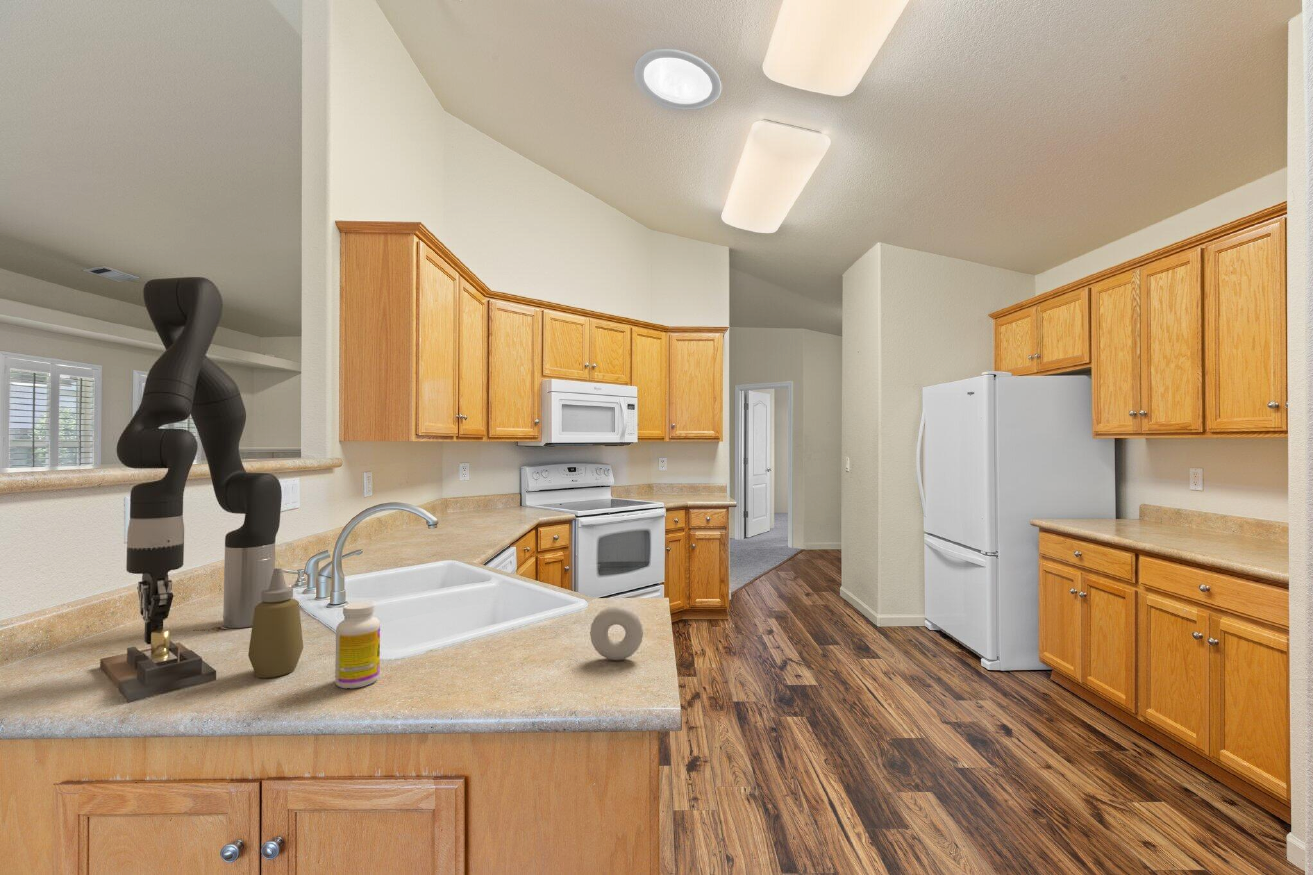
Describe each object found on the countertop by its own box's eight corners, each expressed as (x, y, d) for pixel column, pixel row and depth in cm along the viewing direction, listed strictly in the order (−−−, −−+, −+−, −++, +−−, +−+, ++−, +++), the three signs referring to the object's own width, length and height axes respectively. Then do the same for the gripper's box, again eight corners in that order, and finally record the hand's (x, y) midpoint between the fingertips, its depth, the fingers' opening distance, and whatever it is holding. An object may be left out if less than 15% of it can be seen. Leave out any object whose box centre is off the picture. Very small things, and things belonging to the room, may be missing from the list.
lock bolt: (164, 658, 102) (165, 624, 102) (177, 669, 97) (178, 634, 97) (142, 663, 99) (143, 628, 99) (154, 675, 94) (155, 638, 94)
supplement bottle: (384, 682, 96) (386, 605, 96) (340, 693, 92) (342, 613, 92) (372, 670, 101) (374, 597, 102) (330, 680, 97) (332, 604, 97)
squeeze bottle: (243, 685, 95) (245, 575, 95) (251, 667, 102) (253, 566, 102) (301, 676, 99) (303, 571, 99) (304, 660, 106) (306, 562, 106)
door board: (179, 650, 110) (179, 628, 110) (216, 679, 97) (216, 654, 97) (100, 667, 101) (100, 643, 102) (128, 702, 88) (129, 674, 88)
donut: (643, 656, 110) (643, 604, 110) (642, 663, 106) (643, 609, 106) (590, 655, 110) (591, 603, 110) (588, 662, 106) (589, 608, 106)
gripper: (194, 544, 99) (191, 645, 99) (173, 536, 107) (171, 629, 107) (136, 550, 93) (133, 657, 93) (119, 541, 101) (116, 639, 101)
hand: (153, 642), depth 100 cm, fingers closed
